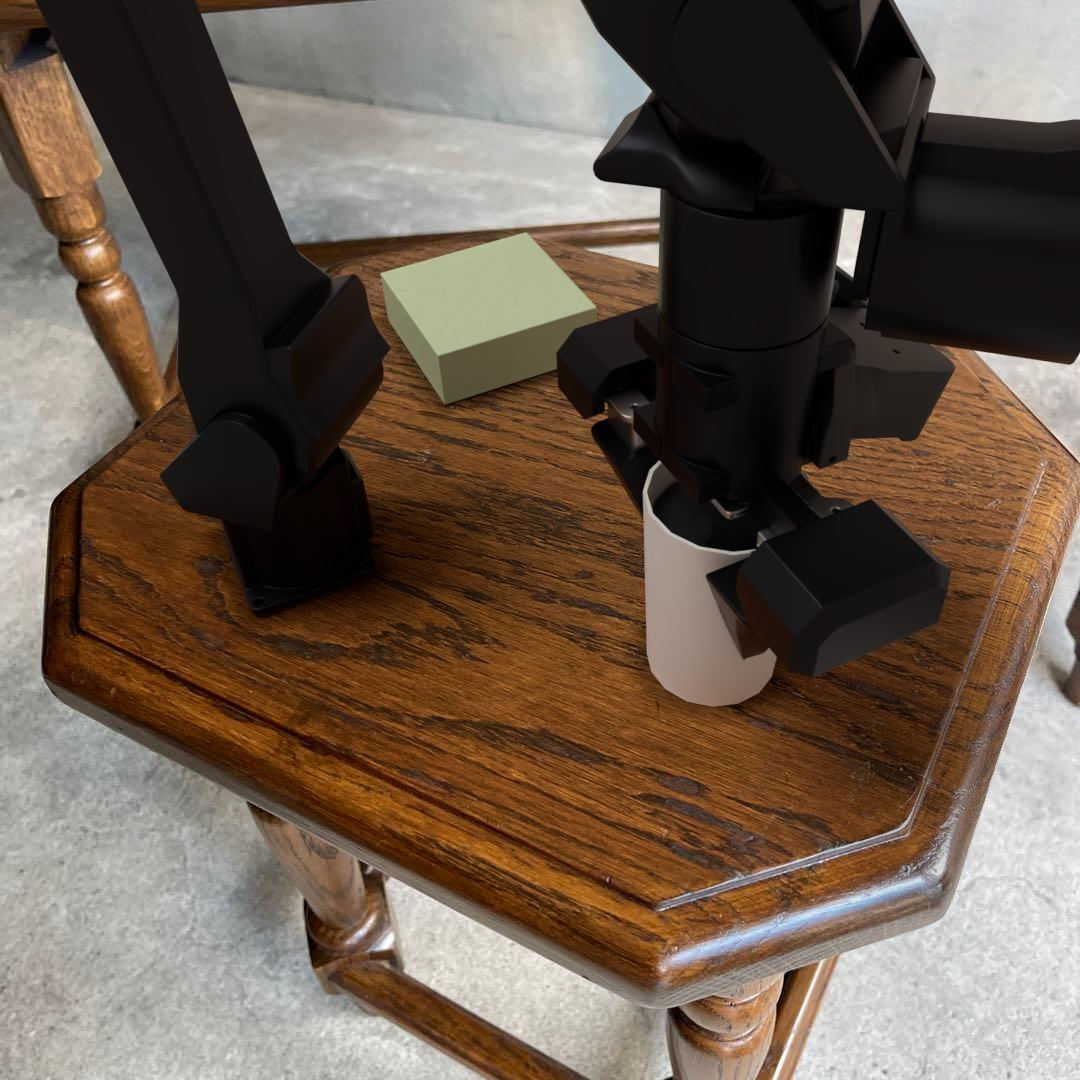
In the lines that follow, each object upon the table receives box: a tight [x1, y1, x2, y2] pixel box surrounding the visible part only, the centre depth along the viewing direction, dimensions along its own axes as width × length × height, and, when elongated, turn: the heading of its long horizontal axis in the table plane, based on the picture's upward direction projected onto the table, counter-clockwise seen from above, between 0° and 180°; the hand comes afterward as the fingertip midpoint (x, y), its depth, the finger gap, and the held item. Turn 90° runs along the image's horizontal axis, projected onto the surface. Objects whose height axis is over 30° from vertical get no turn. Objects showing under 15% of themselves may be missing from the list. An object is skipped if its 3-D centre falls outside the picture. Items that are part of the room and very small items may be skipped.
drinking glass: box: [643, 460, 811, 708], centre depth 46 cm, size 7×7×10 cm
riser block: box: [380, 232, 598, 405], centre depth 68 cm, size 10×10×4 cm
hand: (716, 609), depth 48 cm, fingers open, 5 cm apart
